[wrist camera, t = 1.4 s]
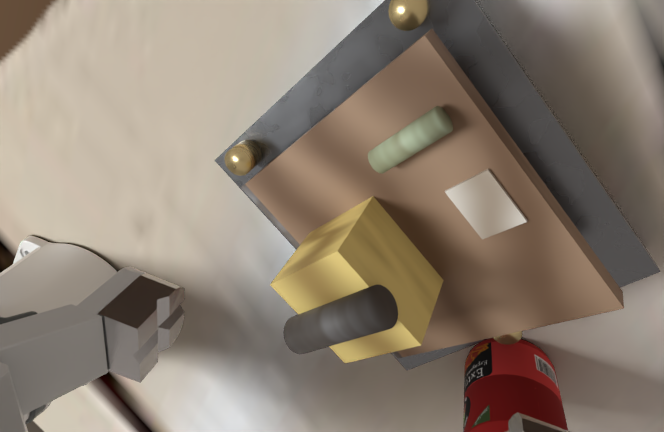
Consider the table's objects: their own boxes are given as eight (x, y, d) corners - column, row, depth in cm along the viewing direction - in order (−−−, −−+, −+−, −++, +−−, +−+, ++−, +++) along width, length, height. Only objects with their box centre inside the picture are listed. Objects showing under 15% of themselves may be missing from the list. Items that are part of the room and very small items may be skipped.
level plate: (398, 345, 40) (360, 444, 33) (248, 180, 36) (169, 253, 29) (622, 290, 28) (635, 429, 21) (432, 28, 24) (369, 92, 17)
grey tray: (410, 347, 44) (404, 387, 40) (231, 148, 39) (202, 169, 35) (646, 248, 33) (671, 289, 29) (441, -49, 28) (436, -52, 24)
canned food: (471, 326, 41) (471, 430, 32) (564, 343, 39) (593, 459, 30) (459, 383, 45) (456, 491, 36) (543, 401, 43) (563, 520, 34)
